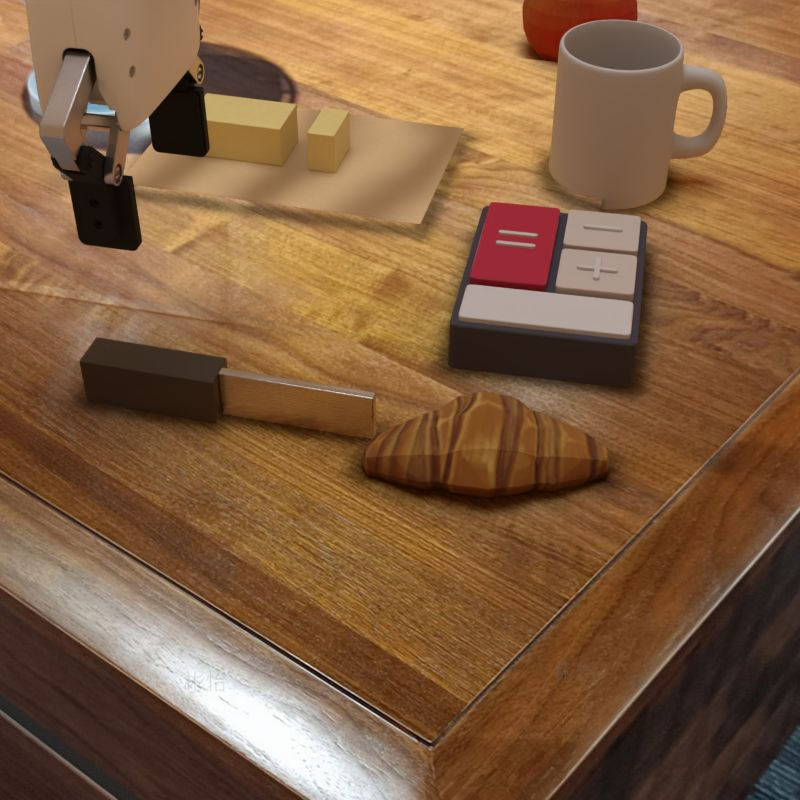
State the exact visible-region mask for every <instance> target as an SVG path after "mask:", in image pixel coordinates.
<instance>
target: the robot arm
mask: <svg viewBox="0 0 800 800" xmlns="http://www.w3.org/2000/svg"><path fill="white" fill-rule="evenodd" d="M24 1H25V10H26V20H27V21H26V22H27V28H28V36H29V37H28V38H29V43H30V44H29V45H30V51H31V59H32V66H33V72H34V78H35V85H36V91H37V96H38V97H37V98H38V103H39V106H40V110H41V113H42V117H41V119H40V121H39V125H38V134H39V135H38V136H39V138H40V140H41V142H42V144H43V145H44V147H45V149H46V150H47V151H48V153H49V155H50V156H49V157H50V161H51V163H52V166H53V167H54V169H56V170H57V171H59V172H60V173H59V174H60V177H61V179H62V180H64V181H67V184H68V189H69V194H70V201H71V205H72V211H73V215H74V221H75V226H76V227H75V228H76V233H77V238H78V240H79V241H80V243H82V245H85V246H90V247H98V248H99V247H100V248H105V249H113V250H114V249H115V250H121V251H122V250H123V251H128V252H135V251H137V250H138V249H139V248H140V246H141V245H142V243H143V236H142V230H141V224H140V218H139V211H138V204H137V198H136V197H137V196H136V191H135V185H134V183H133V177H132V176H128V175H126V174H125V168H126V161H127V154H128V148H129V141H130V134H131V131H133V130H135V129H136V128H138V127H139V126H140V125H142V124H143V123H144V122H145V121H146V120H147V119H148V124H149V131H150V132H149V133H150V138H151V143H152V146H153V149H154V150H155V151H156V152H160V153H168V154H177V155H186V156H195V157H204V156H205V155H206V154H207V153H208V152H209V150H210V144H209V135H208V126H207V117H206V107H205V98H204V96H205V90H204V86H196V85H201V84H202V83H203V81H204V78H205V64H204V63H203V61H202V59H201V58H200V57H199V52H200V47H201V42H202V41H203V38H204V35H203V33H204V30H203V28H202V25H201V23H200V9H201V0H24ZM89 104H90V105H97V106H98V105H99V106H106V107H108V110H110V111H115V112H114V115H110V114H102V113H101V114H99V113H91V112H88V107H89ZM88 131H96V132H104V133H105V132H106V133H108V138H107V143H106V150H105V155H104V154H103V153H101V152H100V151H98V149H96V148H95V147H93V146H92V145H86V139H87V138H86V137H87V133H88Z"/></svg>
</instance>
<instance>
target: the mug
mask: <svg viewBox="0 0 800 800" xmlns="http://www.w3.org/2000/svg"><path fill="white" fill-rule="evenodd" d="M684 61H685V49H684V45H683V43H682V41H681V40H680V39H679V38H678V37H677V36H676V35H675V34H673V33H672V32H670V31H669V30H667V29H664V28H663V27H659V26H657V25H655V24H651V23H646V22H644V21H643V22H642V21H638V20H637V21H630V20H599V21H592V22H588V23H584V24H581V25H578V26H576V27H573V28H572V29H570V30H568V31H567V32H566V33H565V34H564V35H563V37H562V39H561V41H560V45H559V55H558V62H557V66H556V67H557V68H556V79H555V92H554V103H553V117H552V128H551V139H550V140H551V142H550V148H549V149H550V151H549V159H548V171H549V174H550V175H551V177H552V178H553V179H554V181H555V182H556V183H558V185H561V186H562V187H564V188H565V189H567V190H568V191H571V192H573V193H576V194H579V195H582V196H585V197H589V198H594V199H601V203H600V207H599V209H601V210H628V209H634V208H638V207H642V206H645V205H648V204H650V203H652V202H654V201H656V200H657V199H658V198H659V197H661V196H662V195H663V194H664V192H665V190H666V187H667V182H668V173H669V168H670V167H669V166H670V162H671V160H684V159H685V160H686V159H695V158H699V157H702V156H704V155H707V154H708V153H709V152H711V151H712V150H713V149H714V148H715V146H716V145H717V143H718V142H719V140H720V139H721V136H722V133H723V131H724V127H725V124H726V119H727V112H728V90H727V86H726V83H725V80H724V79H723V77H722V75H721V74H720V73H719V72H717V71H716V70H714V69H712V68H709V67H705V66H699V65H692V64H685V63H684ZM693 90H703V91H705V92H708V93H709V94H710V96H711V99H712V113H711V116H710V120H709V123H708V125H707V127H706V128H705V129H704V130H703V132H702V133H700V134H698V135H694V136H685V135H682V134H681V135H680V134H678V133H676V132H675V123H676V116H677V109H678V104H679V100H680V96H681V94H682V93H684V92H688V91H693Z"/></svg>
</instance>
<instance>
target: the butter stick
mask: <svg viewBox="0 0 800 800" xmlns="http://www.w3.org/2000/svg"><path fill="white" fill-rule="evenodd" d="M204 98H205V107H206V117H207V126H208V135H209V144H210V150H209V152H208V153H207V154H206V155H205V156H208V157H215V158H223V159H231V160H238V161H246V162H253V163H261V164H268V165H276V166H282V165H283V164H284V162H285V160H286V159H287V157H288V156H289V154H290V153H291V151H292V150H293V148H294V146H295V145H296V143H297V142H298V122H297V108H298V106H297V103H291V102H282V101H275V100H274V101H273V100H265V99H258V98H249V97H242V96H234V95H233V96H232V95H225V94H218V93H217V94H216V93H210V92H207V93H205V94H204Z"/></svg>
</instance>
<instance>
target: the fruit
mask: <svg viewBox="0 0 800 800" xmlns="http://www.w3.org/2000/svg"><path fill="white" fill-rule="evenodd" d="M521 11H522V12H521V13H522V14H521V15H522V29H523V31H524V34H525V36H526V40H527V42H528V44H529V45H530V46H531V47H532V49H533V50H534V52H535V53H536V54H537V55H538V57H539V58H540V59H542V60H544V62H553V63H558V55H559V45H560V41H561V39H562V37H563V35H564V34H565V33H566V32H567V31H568V30H570V29H572V28H573V27H576V26H578V25H581V24H584V23H588V22H592V21H599V20H630V21H637V22H638V18H639V15H638V13H639V12H638V0H523V1H522V10H521Z"/></svg>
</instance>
